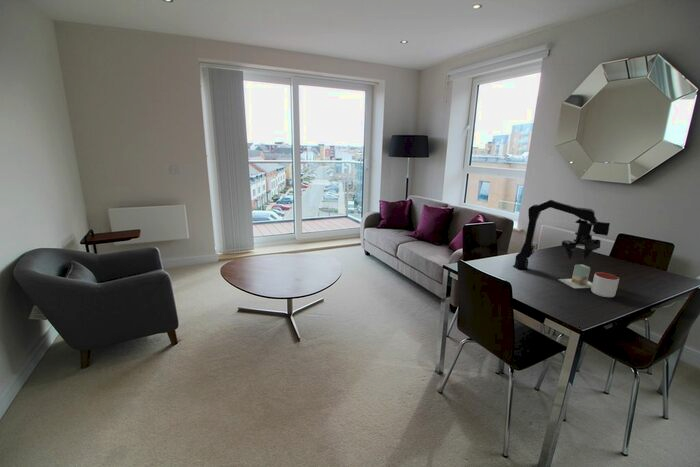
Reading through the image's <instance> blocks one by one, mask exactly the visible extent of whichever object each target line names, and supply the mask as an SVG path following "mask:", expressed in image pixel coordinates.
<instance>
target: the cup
mask: <svg viewBox="0 0 700 467" xmlns="http://www.w3.org/2000/svg"><path fill="white" fill-rule="evenodd" d="M619 282H620V277H618V276H617V275H614V274H611V273H607V272H595V273H594V275H593V280H592V282H591V283H592V287H591V288H590V290H591V292H592V293H593V294H594V295H597V296H599V297H604V298H614V297H615V296H616V293H617V290H618V286H619Z"/></svg>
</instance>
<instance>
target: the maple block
mask: <svg viewBox="0 0 700 467" xmlns="http://www.w3.org/2000/svg"><path fill="white" fill-rule="evenodd" d="M571 279H572V281H571V282H573V283H575V284H577V285H587V282H588V281H589V277H580V276H578V275H576V274H574V273H573V272H572V277H571Z"/></svg>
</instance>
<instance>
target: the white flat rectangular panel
mask: <svg viewBox="0 0 700 467" xmlns="http://www.w3.org/2000/svg"><path fill="white" fill-rule="evenodd" d="M557 280H558V281H559V282H561V283H564V284H566V285H567V286H569V287H571V288H573V289H591V287H592V283H593V282H591V281H590V280H588V282H587V285H577V284H575V283H573V282H571V281H572V278H560V279H557Z"/></svg>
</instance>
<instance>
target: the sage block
mask: <svg viewBox="0 0 700 467" xmlns="http://www.w3.org/2000/svg"><path fill="white" fill-rule="evenodd" d="M590 272H591V267H590V266H588V265H585V264H574V267H573V272H572V274H573V273H574V274H576V275H578V276H580V277H588V278H589V277H590Z"/></svg>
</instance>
